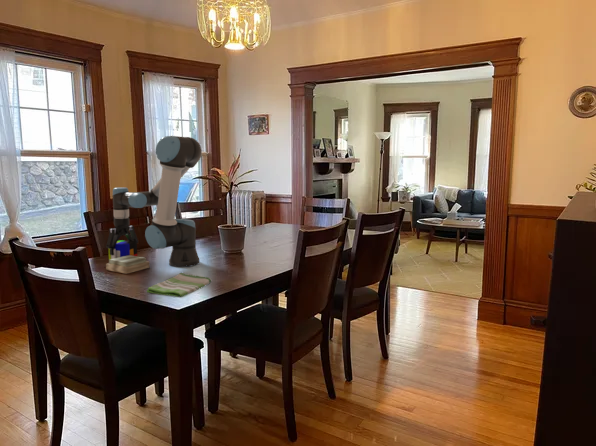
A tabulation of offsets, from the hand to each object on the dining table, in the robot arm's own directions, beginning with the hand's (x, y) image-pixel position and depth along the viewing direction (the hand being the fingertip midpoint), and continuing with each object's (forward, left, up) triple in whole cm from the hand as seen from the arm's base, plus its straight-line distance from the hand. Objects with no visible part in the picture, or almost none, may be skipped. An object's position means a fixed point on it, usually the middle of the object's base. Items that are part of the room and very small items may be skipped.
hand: (123, 258), depth 230 cm
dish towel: (-59, +21, -2) cm, 63 cm away
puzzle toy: (0, 0, -1) cm, 1 cm away
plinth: (-15, +10, -1) cm, 18 cm away
